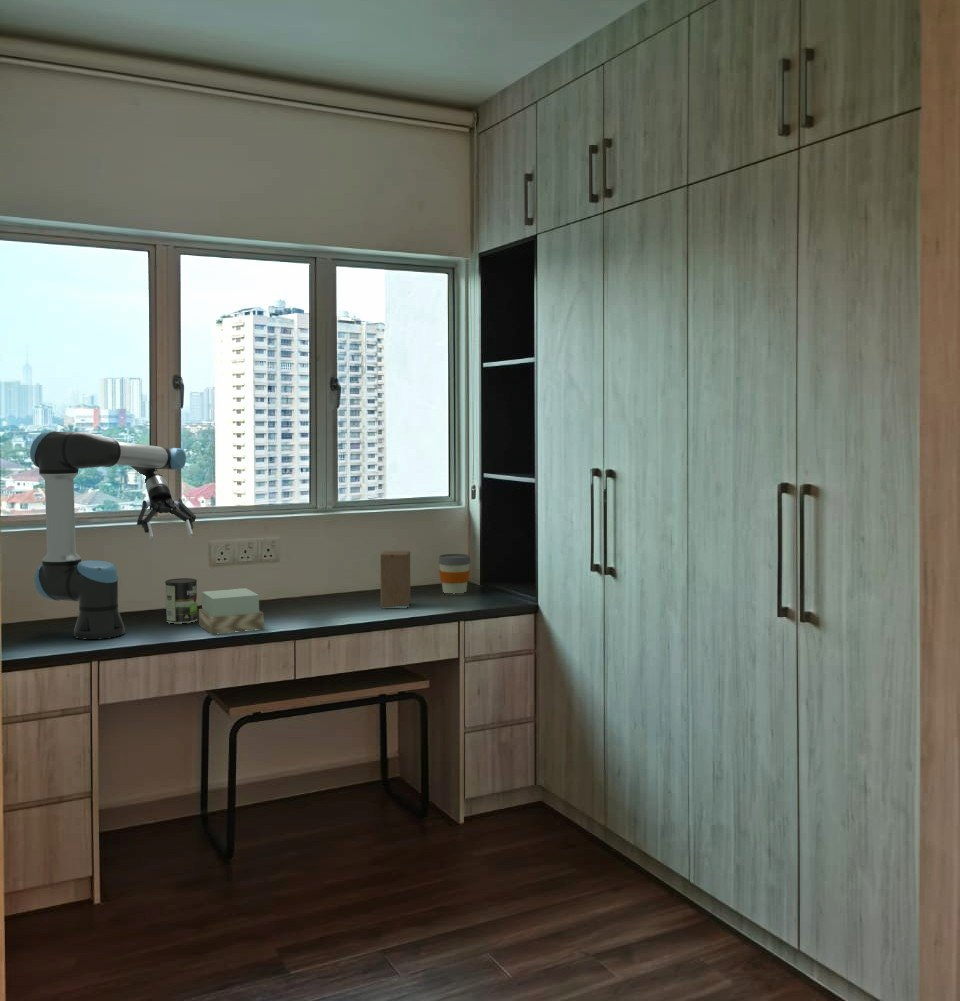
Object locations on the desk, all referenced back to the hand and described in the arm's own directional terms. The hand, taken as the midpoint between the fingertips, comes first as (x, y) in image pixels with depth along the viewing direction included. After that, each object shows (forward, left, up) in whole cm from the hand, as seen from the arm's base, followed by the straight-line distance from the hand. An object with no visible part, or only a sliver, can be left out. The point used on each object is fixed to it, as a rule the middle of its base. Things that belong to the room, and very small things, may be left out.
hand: (171, 537), depth 351 cm
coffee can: (+1, -10, -28) cm, 30 cm away
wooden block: (+76, -20, -28) cm, 83 cm away
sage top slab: (+12, -29, -22) cm, 38 cm away
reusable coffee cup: (+107, -7, -28) cm, 110 cm away
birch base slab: (+13, -28, -28) cm, 42 cm away
